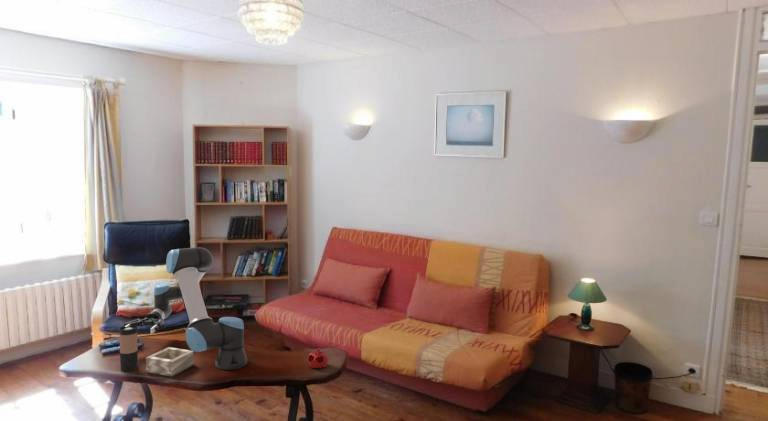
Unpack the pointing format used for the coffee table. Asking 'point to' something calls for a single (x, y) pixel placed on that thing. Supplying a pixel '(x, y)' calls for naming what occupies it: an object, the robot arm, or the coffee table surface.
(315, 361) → the pomegranate
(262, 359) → the coffee table surface
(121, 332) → the travel mug
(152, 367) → the well
